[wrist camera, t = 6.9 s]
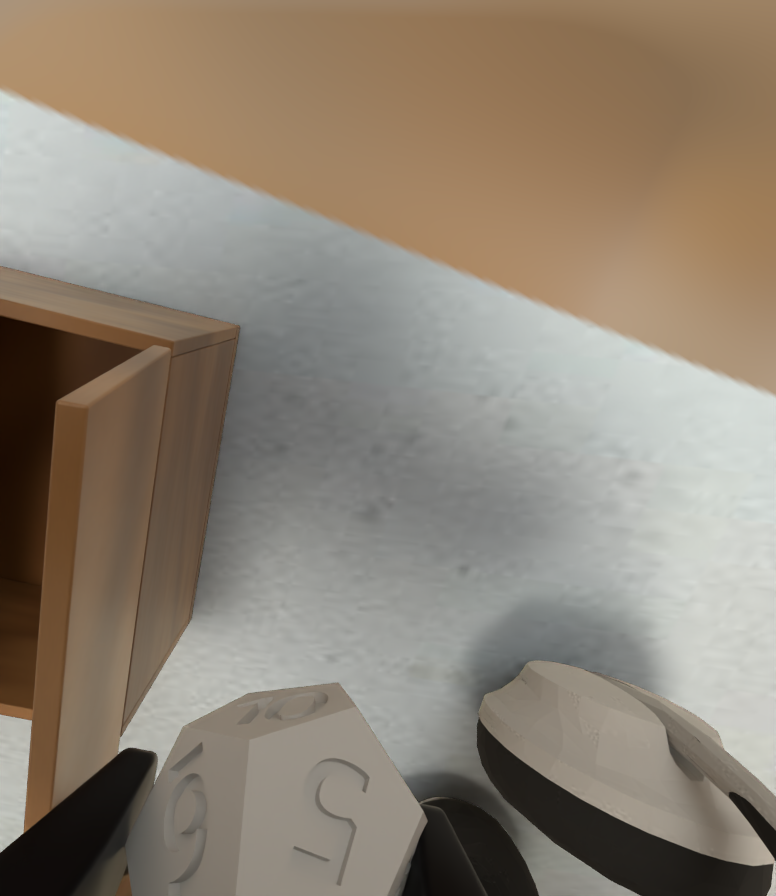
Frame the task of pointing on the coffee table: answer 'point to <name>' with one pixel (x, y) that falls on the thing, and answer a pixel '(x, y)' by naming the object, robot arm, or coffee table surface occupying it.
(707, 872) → the headphones
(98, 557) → the flap
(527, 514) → the coffee table surface
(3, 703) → the wooden box
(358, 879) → the game die
